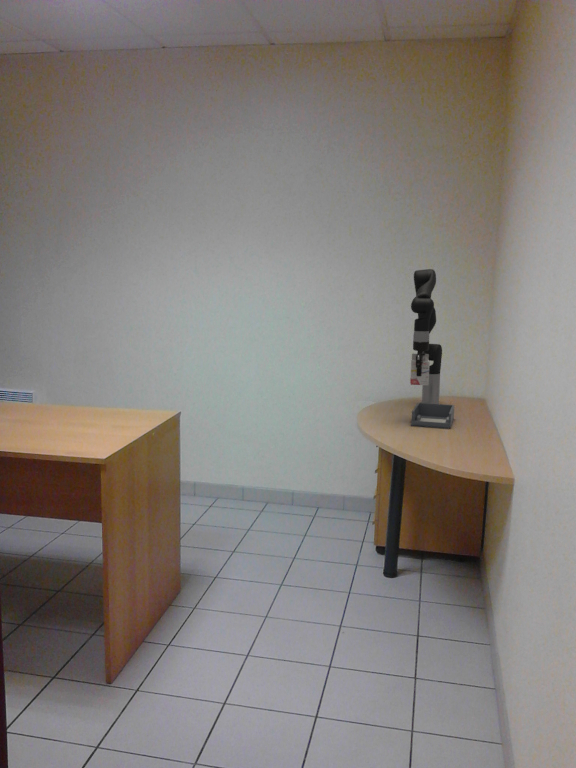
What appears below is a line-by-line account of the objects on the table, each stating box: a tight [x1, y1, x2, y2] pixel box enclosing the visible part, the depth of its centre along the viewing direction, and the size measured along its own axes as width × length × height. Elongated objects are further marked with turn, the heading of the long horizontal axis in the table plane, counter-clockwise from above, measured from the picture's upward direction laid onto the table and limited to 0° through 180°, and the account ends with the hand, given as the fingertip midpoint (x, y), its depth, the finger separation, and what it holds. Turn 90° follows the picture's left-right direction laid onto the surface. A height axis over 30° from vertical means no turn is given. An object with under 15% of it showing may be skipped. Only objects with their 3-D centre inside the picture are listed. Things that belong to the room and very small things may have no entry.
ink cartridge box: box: [409, 353, 431, 386], centre depth 313 cm, size 9×5×15 cm, turn 83°
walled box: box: [410, 402, 455, 430], centre depth 313 cm, size 22×18×7 cm
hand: (419, 375), depth 314 cm, fingers closed on ink cartridge box, 5 cm apart
